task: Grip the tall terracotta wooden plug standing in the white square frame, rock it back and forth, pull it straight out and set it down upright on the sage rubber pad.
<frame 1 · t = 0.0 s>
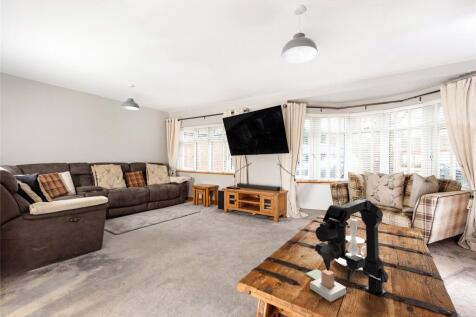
hand: (338, 275, 85), 15 cm above the table, tool pointing down, fingers open, 9 cm apart
white square frame: (327, 291, 98), on the table
plug: (327, 281, 98), in the white square frame
pad: (318, 275, 111), on the table
candlestick: (355, 265, 123), on the table
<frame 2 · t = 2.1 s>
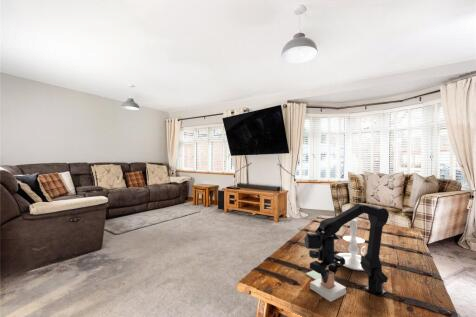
hand: (327, 281, 98), 5 cm above the table, tool pointing down, fingers closed on plug, 4 cm apart
plug: (327, 281, 98), in the white square frame, touching gripper
everything else where it was.
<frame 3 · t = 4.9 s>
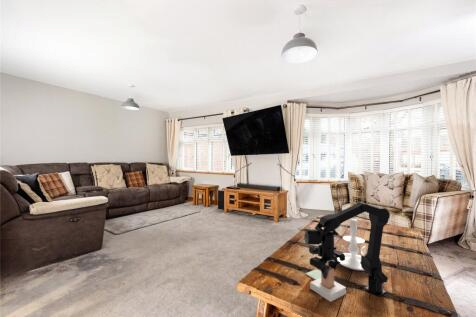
hand: (327, 277, 98), 6 cm above the table, tool pointing down, fingers closed on plug, 4 cm apart
plug: (327, 277, 98), point 6 cm above the table, touching gripper
everything else where it was.
when the fingers open (7 cm above the table, at t = 8.0 s): plug drops 2 cm, resting on pad.
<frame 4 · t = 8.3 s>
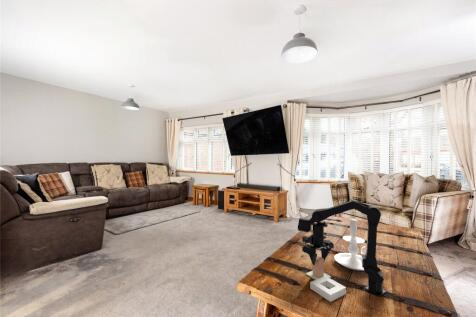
hand: (318, 263, 111), 7 cm above the table, tool pointing down, fingers open, 7 cm apart
plug: (318, 266, 111), on the pad
everything else where it was.
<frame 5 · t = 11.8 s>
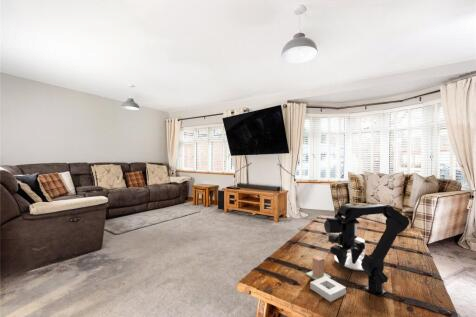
hand: (348, 265, 98), 12 cm above the table, tool pointing down, fingers open, 9 cm apart
nothing on the table moved.
at the end: plug inside the target area on the pad (0.1 cm from its centre), point 5.0 cm above the pad's base; plug tilted 0°; plug touching pad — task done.
